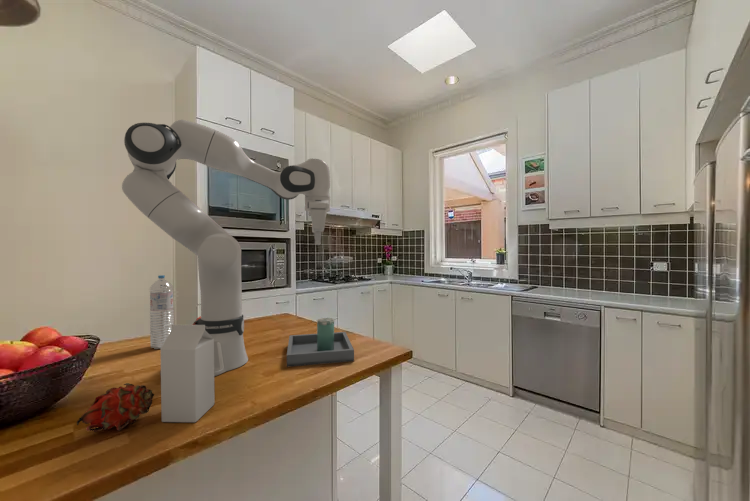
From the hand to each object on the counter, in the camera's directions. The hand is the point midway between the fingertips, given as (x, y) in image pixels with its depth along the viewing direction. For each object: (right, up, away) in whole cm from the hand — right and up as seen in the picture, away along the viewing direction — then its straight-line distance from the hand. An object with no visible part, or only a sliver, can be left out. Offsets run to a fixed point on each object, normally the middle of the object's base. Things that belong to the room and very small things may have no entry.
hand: (317, 244), depth 111 cm
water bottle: (-54, -36, -2) cm, 65 cm away
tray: (+2, -36, -8) cm, 37 cm away
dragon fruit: (-30, -37, -49) cm, 69 cm away
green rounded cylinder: (+4, -35, -7) cm, 36 cm away
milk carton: (-19, -37, -45) cm, 61 cm away
